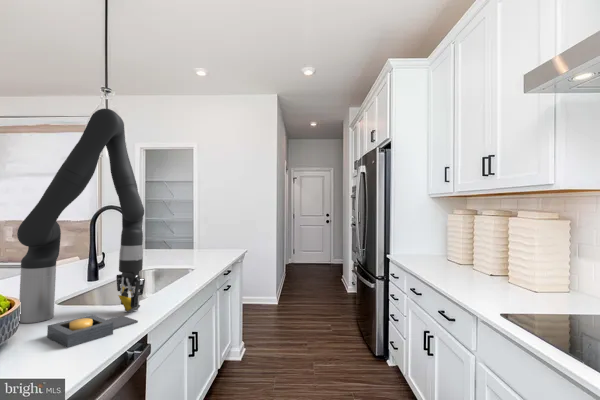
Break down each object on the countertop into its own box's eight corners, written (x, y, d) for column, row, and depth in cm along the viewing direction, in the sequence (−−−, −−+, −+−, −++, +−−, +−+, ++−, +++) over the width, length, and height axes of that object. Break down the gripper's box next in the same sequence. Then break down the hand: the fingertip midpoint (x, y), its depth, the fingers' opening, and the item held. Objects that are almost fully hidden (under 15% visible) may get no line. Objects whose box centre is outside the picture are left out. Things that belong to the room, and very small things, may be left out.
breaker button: (65, 330, 96) (65, 322, 96) (86, 325, 100) (86, 317, 100) (75, 334, 93) (75, 326, 93) (96, 329, 97) (96, 320, 97)
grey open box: (47, 337, 94) (47, 325, 95) (91, 325, 105) (92, 314, 105) (67, 348, 88) (67, 334, 88) (112, 334, 98) (113, 322, 98)
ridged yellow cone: (142, 314, 118) (122, 298, 113) (130, 319, 119) (109, 304, 114) (146, 301, 123) (127, 286, 117) (134, 306, 124) (114, 291, 118)
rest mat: (94, 324, 106) (94, 322, 106) (122, 317, 113) (122, 315, 113) (109, 330, 101) (110, 328, 101) (137, 322, 109) (137, 320, 109)
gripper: (109, 256, 119) (107, 304, 119) (132, 261, 112) (130, 312, 111) (129, 254, 126) (127, 300, 125) (153, 258, 118) (151, 306, 118)
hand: (129, 305), depth 118 cm, fingers closed on ridged yellow cone, 5 cm apart
